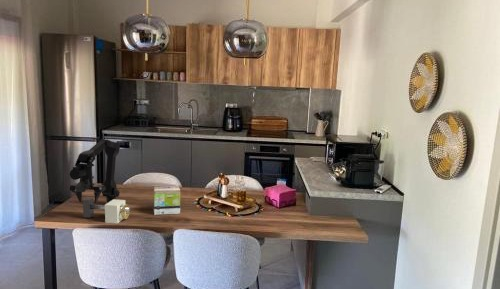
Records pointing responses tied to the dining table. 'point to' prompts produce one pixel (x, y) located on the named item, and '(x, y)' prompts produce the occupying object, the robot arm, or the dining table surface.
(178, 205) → the tea box
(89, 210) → the shaft
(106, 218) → the bearing block
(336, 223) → the dining table surface
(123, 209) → the spacer
